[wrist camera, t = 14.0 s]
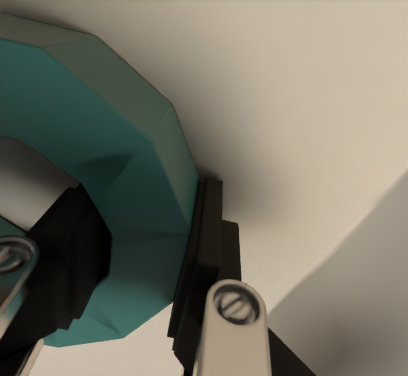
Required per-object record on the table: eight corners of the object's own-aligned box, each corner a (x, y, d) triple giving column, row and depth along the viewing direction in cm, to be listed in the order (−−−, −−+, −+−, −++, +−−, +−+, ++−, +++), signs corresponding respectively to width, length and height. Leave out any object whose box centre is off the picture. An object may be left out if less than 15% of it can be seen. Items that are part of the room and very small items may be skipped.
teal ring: (-146, -24, 8) (-320, -40, 5) (227, 68, 8) (229, 92, 6) (-59, 254, 12) (-128, 313, 10) (170, 300, 13) (158, 367, 11)
